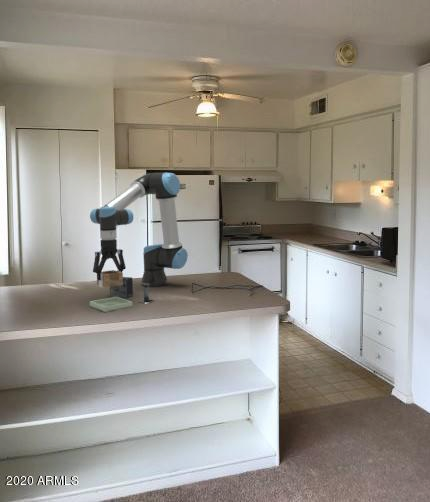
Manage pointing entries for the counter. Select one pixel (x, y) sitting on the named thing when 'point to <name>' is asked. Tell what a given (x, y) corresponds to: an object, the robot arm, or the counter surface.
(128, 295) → the small box
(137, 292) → the counter surface
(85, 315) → the counter surface
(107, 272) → the collar
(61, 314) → the counter surface
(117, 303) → the tray
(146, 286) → the dark grey knobbed stand
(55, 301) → the counter surface
